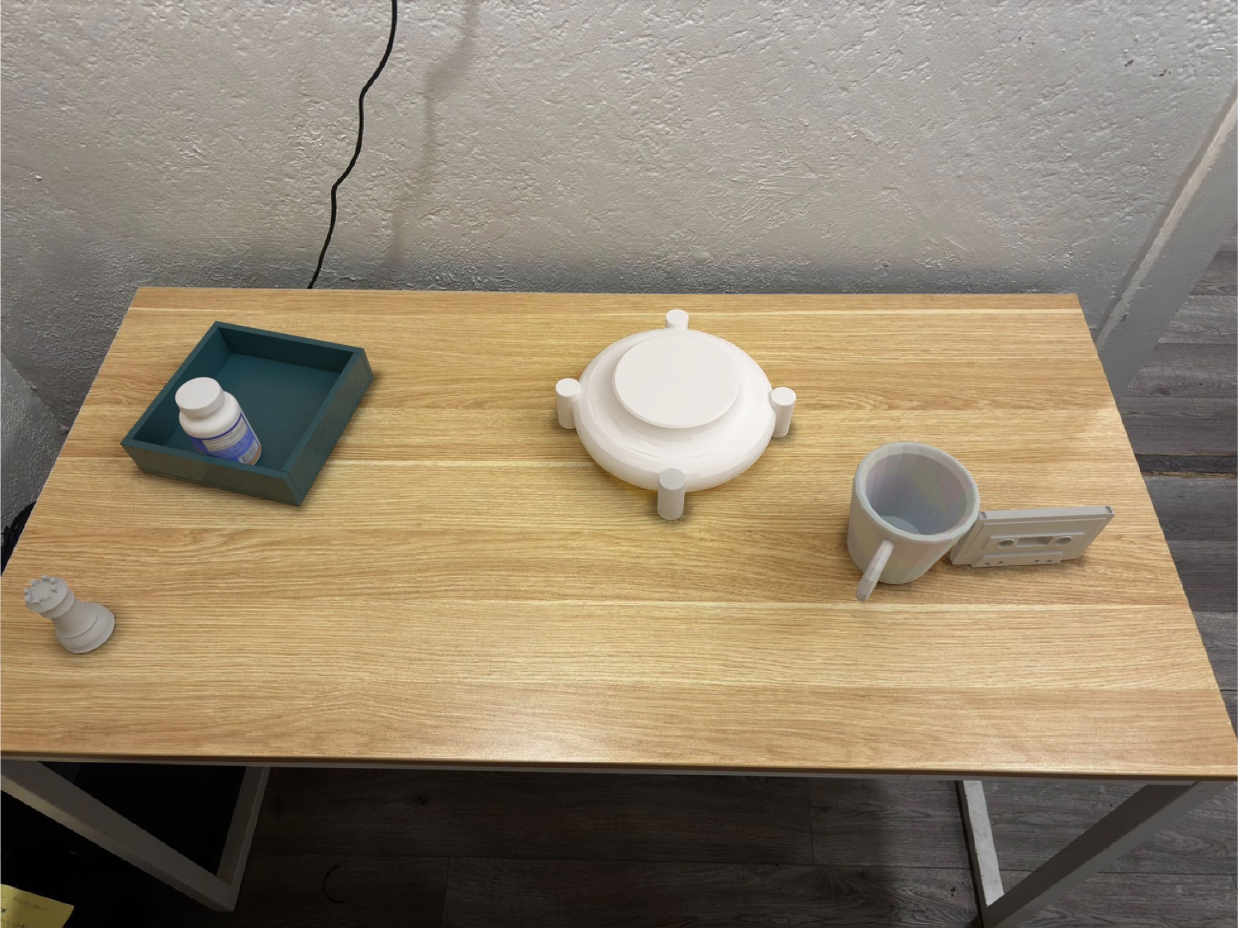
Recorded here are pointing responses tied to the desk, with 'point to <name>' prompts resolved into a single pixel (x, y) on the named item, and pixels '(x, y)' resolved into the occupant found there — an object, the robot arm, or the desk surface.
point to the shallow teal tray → (258, 410)
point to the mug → (907, 512)
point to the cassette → (1030, 536)
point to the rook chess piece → (69, 614)
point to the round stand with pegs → (674, 411)
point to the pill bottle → (216, 422)
